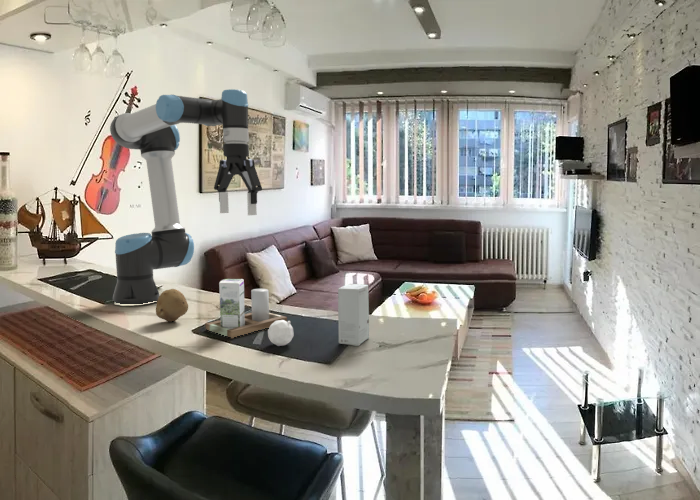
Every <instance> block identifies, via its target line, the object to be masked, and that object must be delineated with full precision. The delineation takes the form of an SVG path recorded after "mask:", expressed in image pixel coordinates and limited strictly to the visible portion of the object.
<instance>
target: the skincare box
mask: <svg viewBox="0 0 700 500" xmlns="http://www.w3.org/2000/svg"><path fill="white" fill-rule="evenodd" d="M369 301H370V300H369V284H359V283H349V284H346V285H345V284H344V285H343V286H341V287H339V288H338V289H337V305H338V306H337V309H338V311H337V313H338V314H337V315H338V316H337V317H338V319H337V320H338V321H337V322H338V323H337V324H338V344H342V345H348V346H355V347H359V346H360V345H361V344H363V343H364V342H365V341H366V340H368V339H369V338H370V311H369V310H370V307H369V305H370V304H369V303H370V302H369Z"/></svg>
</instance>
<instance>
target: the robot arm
mask: <svg viewBox="0 0 700 500" xmlns="http://www.w3.org/2000/svg"><path fill="white" fill-rule="evenodd" d="M183 123H185V124H197V125H198V124H199V125H203V126H208V127H215V126H216V127H217V126H222V133H223V134H222V138H223V141H222V142H224V144H223V147H222V148H223V152H222V153H223V156H224V157H226V159H220V160H219V165H218V166H219V167H218V172H217V175H216V178H215V181H214V186H213V189H214V190H215V191H217V192H218V201H219V214H228V213H230V212H229V192H228V190H227V189H228V188H229V185H230V184H231V183H232V179H233V177H234V176H236V175H238V176H240V178H241V179H242V181H243V183H244V185H245V187H246V189H247V193H246V195H247V197H246V199H247V202H246V203H247V216H257V204H258V193H259V192H261V191H262V190H263V188H262V184H261V182H260V178H259V176H258V172H257V170H256V167H255V160H254V159H251V158H248V157H249V156H250V148H249V147H250V145H249V144H248V143H249V142H250V138H249V102H248V93H247V92H246V91H245V90H241V89H233V88H231V89H224V90H223V91H222V92H221V97H220V99H207V98H200V97H190V96H182V95H175V94H162V95H160V96H159V97H158V99H157V100H156V103H155V104H153V105H150V106H148V107H145V108H143V109H140V110H138V111H135V112H132V113H131V112H125V113H122V114H119V115H117V116H116V117H114V118H113V120H112V121H111V122H110V126H109V131H110V132H109V133H110V135H111V137H112V139H113V140H114V142H116V144H118V145H119V146H121V147H123V148H126V149H130V150H139V151H140V157H141V158H143V159H144V160H145V161H146V168H147V175H148V176H147V177H148V182H149V190H150V192H149V193H150V198H151V206H152V211H153V212H152V215H153V221H154V228H153V229H152V230H151V231H150V232H140V233H131V234H127V235H122V236H121V237H120V236H119V237H118V238H117V239H116V241H115V248H114V254H115V267H116V284H115V287H114V290H113V291H114V292H113V295H112V302H113V301H114V302H116V303H120V304H143V303H148V302H153V301H157V300H158V298H159V296H160V292H159V289H158V287H157V284H156V282H155V279H154V270H161V269H168V268H178V267H181V266H186V265H187V264H189V263H190V262H191V261H192V258H193V257H194V252H195V242H194V239H193V238H192V236H191V234H189V233H187V232H186V227H184V226H182V224H181V221H180V214H179V206H178V198H177V193H176V192H177V191H176V185H175V184H176V183H175V177H174V170H173V160H172V158H173V157H174V156H175V155H176V150H178V148H179V146H180V141H181V136H180V132H179V128H178V127H177V125H179V124H183Z"/></svg>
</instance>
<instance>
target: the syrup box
mask: <svg viewBox="0 0 700 500" xmlns="http://www.w3.org/2000/svg"><path fill="white" fill-rule="evenodd" d="M218 285H219V287H218V288H219V314H220V315H219V316H220V317H219V318H220V321H221V327H224V328H228V329H233V328H237V327H241V326H245V314H246V313H245V282H244V279H243V278H224V279H221V280H220V281H219V283H218Z"/></svg>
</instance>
